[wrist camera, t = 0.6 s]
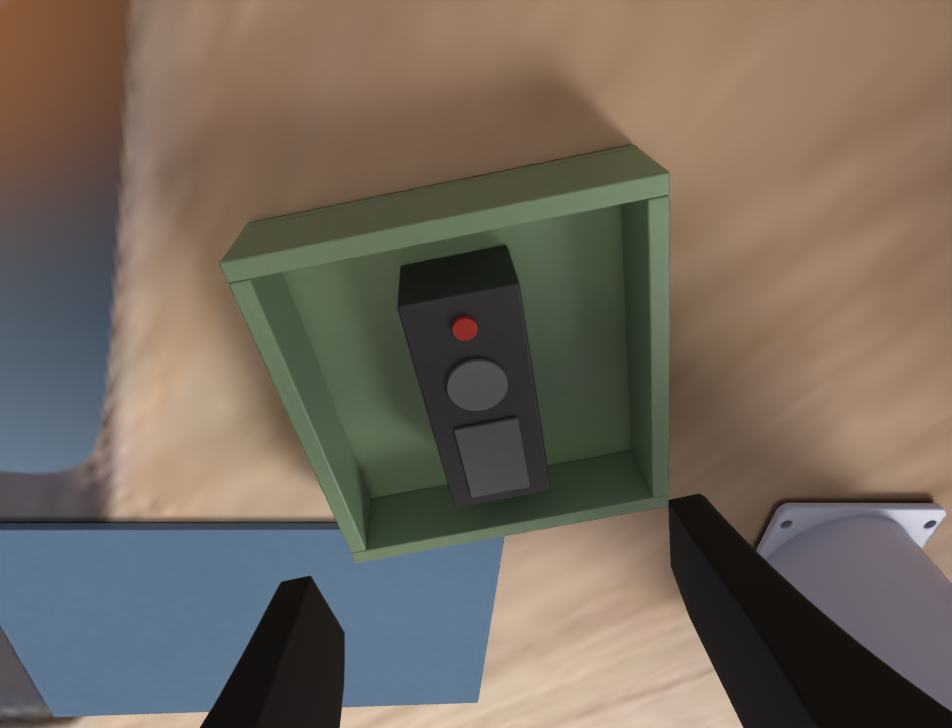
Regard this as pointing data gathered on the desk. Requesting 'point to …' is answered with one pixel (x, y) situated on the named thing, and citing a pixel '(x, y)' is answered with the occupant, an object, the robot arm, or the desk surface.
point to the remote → (475, 373)
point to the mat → (232, 611)
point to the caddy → (548, 328)
